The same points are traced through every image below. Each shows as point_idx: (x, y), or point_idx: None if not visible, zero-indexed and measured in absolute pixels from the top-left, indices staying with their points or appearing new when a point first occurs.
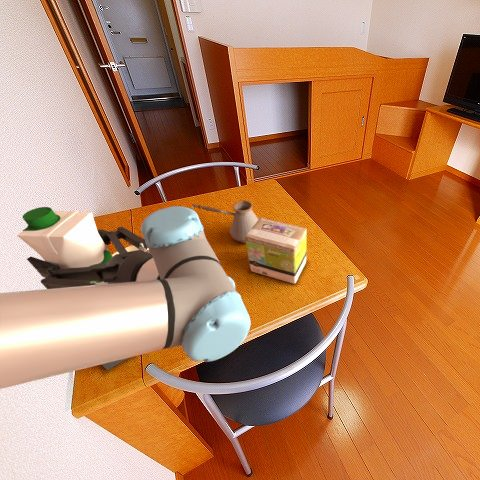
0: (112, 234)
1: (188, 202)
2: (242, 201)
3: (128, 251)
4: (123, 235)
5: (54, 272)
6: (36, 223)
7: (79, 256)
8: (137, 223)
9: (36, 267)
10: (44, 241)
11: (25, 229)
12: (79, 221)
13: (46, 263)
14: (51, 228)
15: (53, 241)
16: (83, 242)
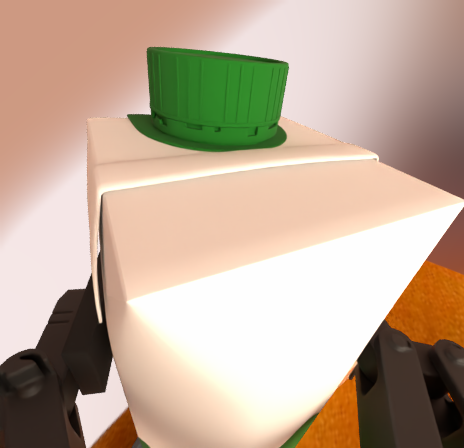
0: (408, 368)
1: (454, 272)
2: None
3: None
4: (434, 391)
5: (24, 399)
6: (164, 93)
7: (180, 414)
8: None
9: None
10: (90, 213)
11: (137, 116)
12: (371, 217)
13: (94, 296)
14: (190, 159)
15: (105, 252)
16: (262, 382)
